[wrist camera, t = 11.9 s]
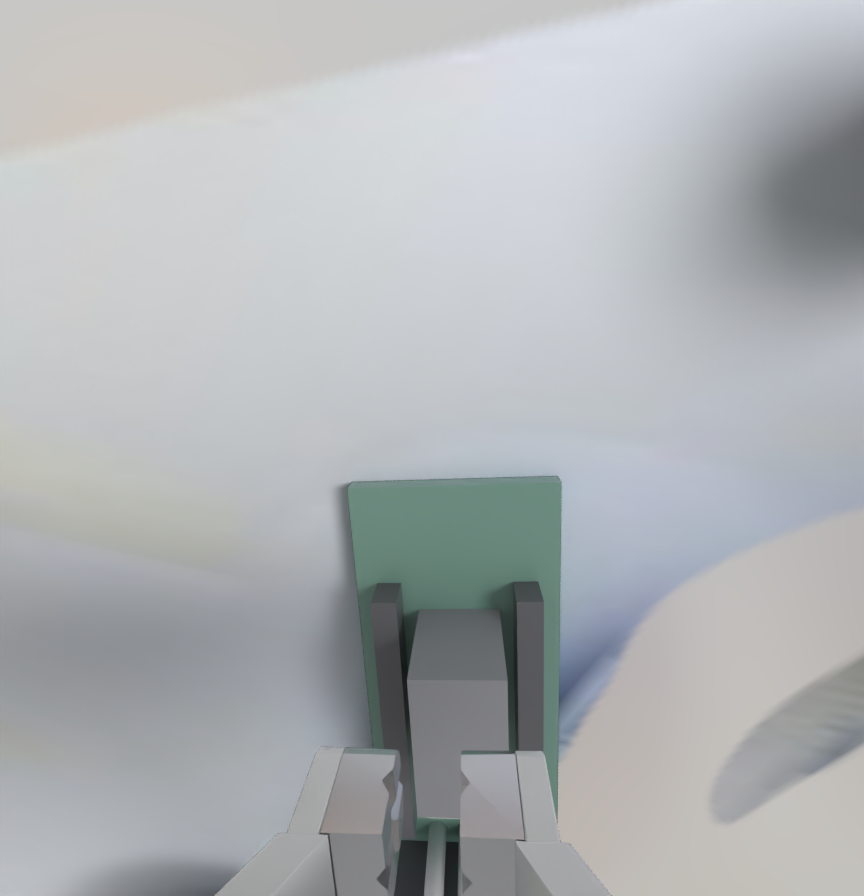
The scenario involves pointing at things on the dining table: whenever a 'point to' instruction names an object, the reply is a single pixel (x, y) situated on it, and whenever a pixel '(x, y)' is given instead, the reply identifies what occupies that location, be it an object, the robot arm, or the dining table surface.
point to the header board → (457, 587)
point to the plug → (454, 700)
